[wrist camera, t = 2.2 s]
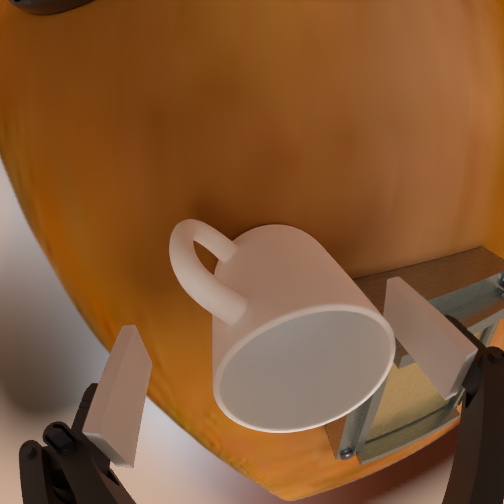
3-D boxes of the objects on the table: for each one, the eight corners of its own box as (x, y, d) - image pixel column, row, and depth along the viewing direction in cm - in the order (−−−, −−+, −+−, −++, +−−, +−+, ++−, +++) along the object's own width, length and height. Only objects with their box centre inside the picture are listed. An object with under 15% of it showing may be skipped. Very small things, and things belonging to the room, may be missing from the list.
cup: (269, 339, 23) (297, 445, 13) (147, 249, 18) (95, 349, 9) (346, 271, 21) (418, 358, 12) (230, 155, 17) (245, 175, 7)
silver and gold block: (335, 283, 21) (379, 345, 14) (482, 246, 22) (531, 277, 15) (325, 428, 30) (341, 475, 23) (437, 385, 31) (461, 420, 24)
